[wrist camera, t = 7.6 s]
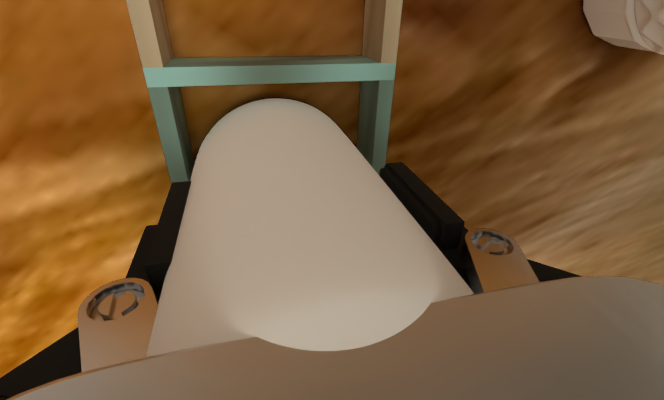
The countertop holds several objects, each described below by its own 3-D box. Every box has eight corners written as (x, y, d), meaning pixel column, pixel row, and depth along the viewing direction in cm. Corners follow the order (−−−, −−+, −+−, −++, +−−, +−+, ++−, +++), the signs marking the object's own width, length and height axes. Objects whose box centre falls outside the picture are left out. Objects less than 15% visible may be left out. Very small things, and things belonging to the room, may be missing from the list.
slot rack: (396, -227, 10) (431, -276, 9) (355, 322, 23) (365, 350, 21) (79, -285, 9) (36, -363, 7) (221, 348, 21) (220, 381, 19)
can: (200, 80, 12) (14, 468, 2) (366, 109, 14) (688, 376, 4) (193, 230, 15) (103, 699, 5) (332, 236, 17) (470, 578, 7)
